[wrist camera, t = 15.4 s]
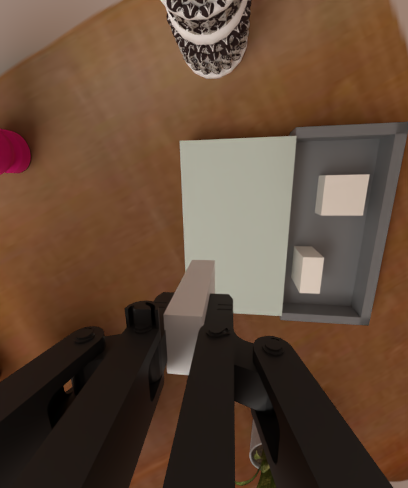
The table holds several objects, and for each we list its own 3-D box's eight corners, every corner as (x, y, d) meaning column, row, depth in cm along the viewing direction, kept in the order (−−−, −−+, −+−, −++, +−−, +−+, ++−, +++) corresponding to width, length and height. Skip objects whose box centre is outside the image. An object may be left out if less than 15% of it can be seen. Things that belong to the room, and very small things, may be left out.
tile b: (320, 215, 30) (314, 212, 32) (362, 215, 29) (353, 212, 32) (325, 175, 29) (318, 175, 31) (369, 174, 28) (359, 174, 30)
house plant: (293, 460, 46) (322, 604, 31) (225, 442, 47) (219, 571, 32) (315, 408, 42) (361, 544, 26) (240, 389, 43) (241, 508, 28)
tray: (356, 311, 36) (368, 325, 33) (276, 307, 38) (280, 319, 34) (389, 128, 29) (409, 121, 25) (289, 132, 30) (296, 127, 27)
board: (277, 301, 37) (281, 315, 33) (192, 297, 39) (187, 310, 35) (289, 141, 31) (296, 135, 27) (186, 145, 33) (179, 140, 29)
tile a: (291, 277, 35) (308, 278, 35) (299, 292, 31) (319, 293, 30) (293, 246, 34) (311, 246, 34) (303, 257, 29) (324, 257, 29)
